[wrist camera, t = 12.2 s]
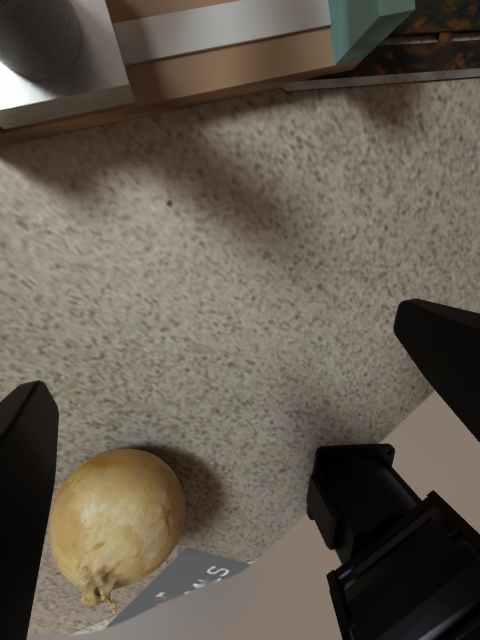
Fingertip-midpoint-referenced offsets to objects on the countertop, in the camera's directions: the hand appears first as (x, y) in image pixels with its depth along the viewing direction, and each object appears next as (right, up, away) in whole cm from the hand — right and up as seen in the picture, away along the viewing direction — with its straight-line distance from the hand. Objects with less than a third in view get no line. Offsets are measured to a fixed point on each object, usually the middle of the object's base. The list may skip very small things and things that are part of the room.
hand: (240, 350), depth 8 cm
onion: (-8, -11, +15) cm, 20 cm away
